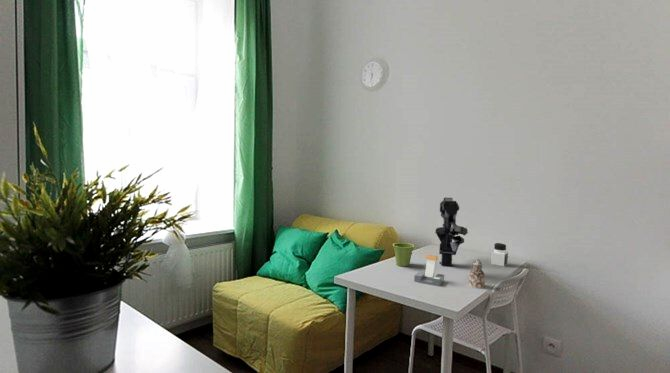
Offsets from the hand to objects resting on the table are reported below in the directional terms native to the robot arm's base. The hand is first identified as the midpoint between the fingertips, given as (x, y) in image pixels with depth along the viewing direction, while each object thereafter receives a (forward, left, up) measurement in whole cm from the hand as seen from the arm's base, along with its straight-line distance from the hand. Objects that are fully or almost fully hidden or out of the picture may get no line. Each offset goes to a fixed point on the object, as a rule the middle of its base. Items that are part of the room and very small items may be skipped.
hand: (449, 251), depth 188 cm
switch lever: (+9, -12, -9) cm, 18 cm away
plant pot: (-18, -20, -13) cm, 30 cm away
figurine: (+14, +9, -13) cm, 21 cm away
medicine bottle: (-23, +36, -13) cm, 45 cm away
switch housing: (+9, -12, -12) cm, 19 cm away
